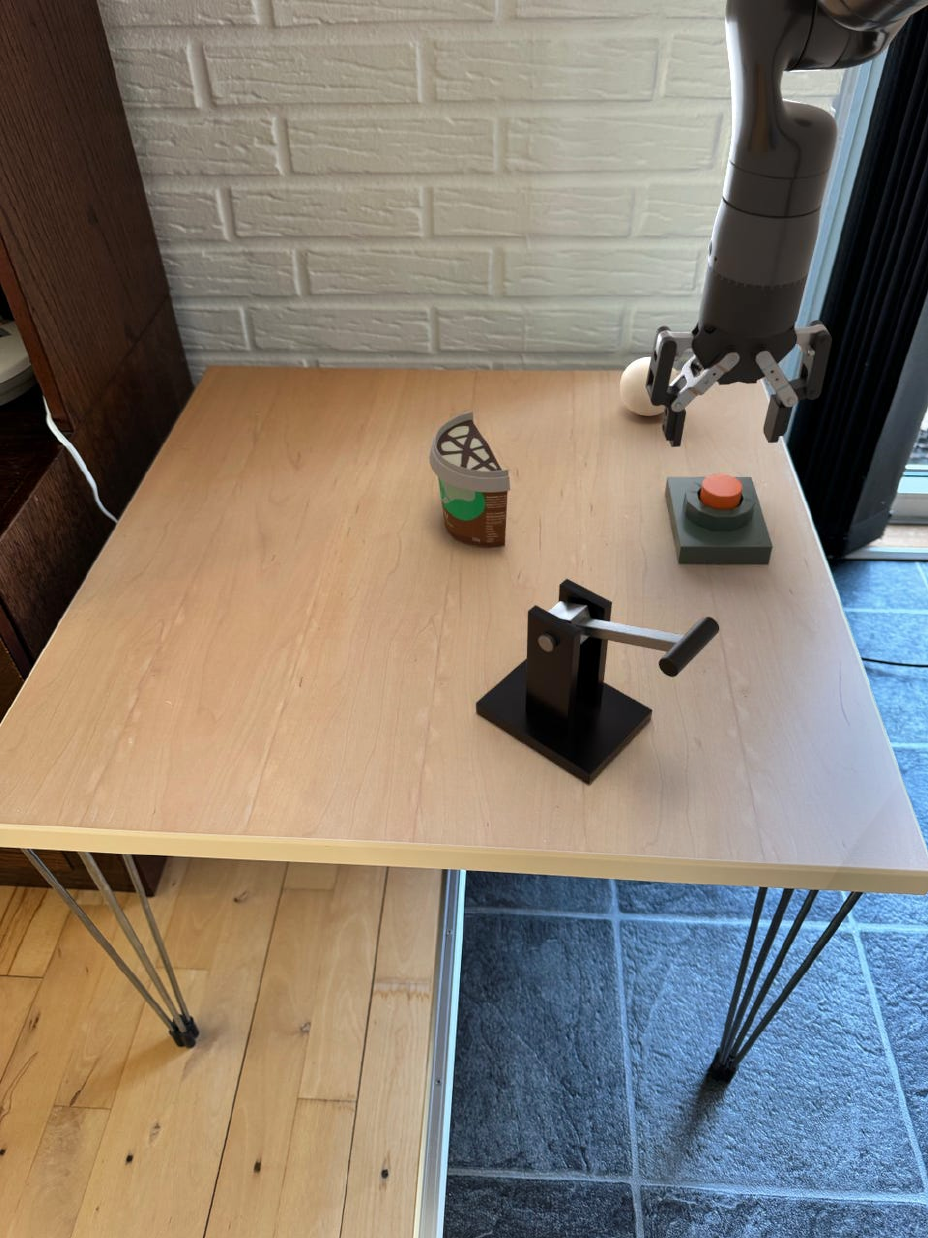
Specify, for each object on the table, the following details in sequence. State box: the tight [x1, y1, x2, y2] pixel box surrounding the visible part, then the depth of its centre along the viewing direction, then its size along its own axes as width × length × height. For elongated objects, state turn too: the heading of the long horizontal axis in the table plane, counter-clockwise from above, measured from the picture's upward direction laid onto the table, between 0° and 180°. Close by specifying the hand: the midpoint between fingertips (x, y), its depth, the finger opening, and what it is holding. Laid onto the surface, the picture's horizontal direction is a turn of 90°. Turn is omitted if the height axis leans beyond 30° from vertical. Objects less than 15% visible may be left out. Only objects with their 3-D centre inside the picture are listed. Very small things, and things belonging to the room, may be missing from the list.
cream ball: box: [619, 356, 680, 417], centre depth 116 cm, size 7×7×7 cm
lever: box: [547, 601, 720, 678], centre depth 71 cm, size 13×6×2 cm, turn 49°
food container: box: [428, 410, 511, 548], centre depth 99 cm, size 12×6×10 cm, turn 17°
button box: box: [664, 476, 774, 565], centre depth 100 cm, size 12×9×4 cm
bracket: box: [475, 578, 653, 785], centre depth 78 cm, size 12×9×13 cm
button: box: [700, 473, 743, 510], centre depth 98 cm, size 4×4×2 cm
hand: (721, 439), depth 84 cm, fingers open, 8 cm apart
